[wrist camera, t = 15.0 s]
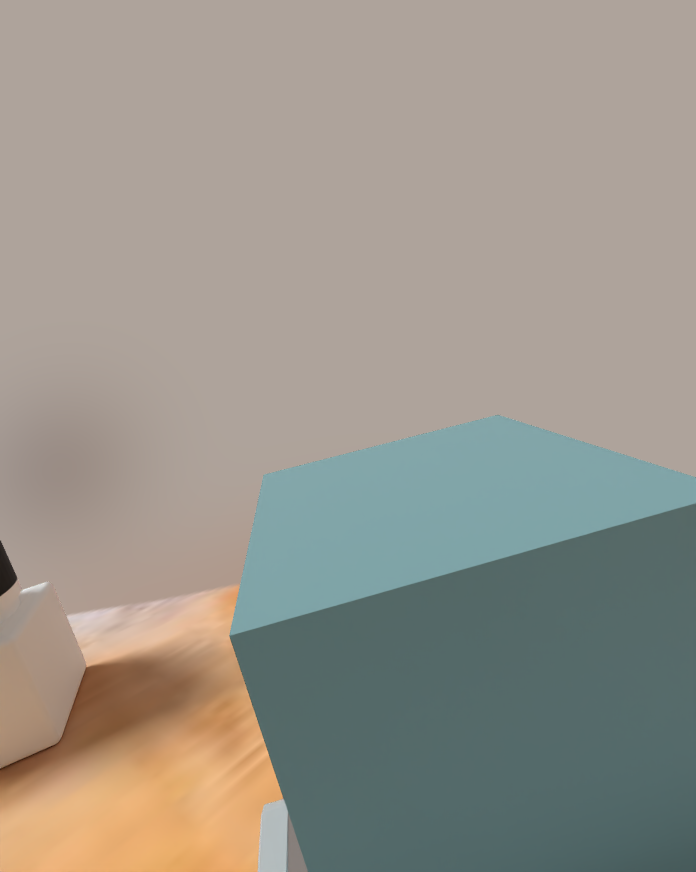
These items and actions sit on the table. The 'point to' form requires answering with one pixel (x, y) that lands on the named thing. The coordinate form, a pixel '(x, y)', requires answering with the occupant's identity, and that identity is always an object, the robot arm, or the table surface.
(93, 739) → the table surface
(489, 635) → the tall teal prism
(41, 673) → the medicine bottle
